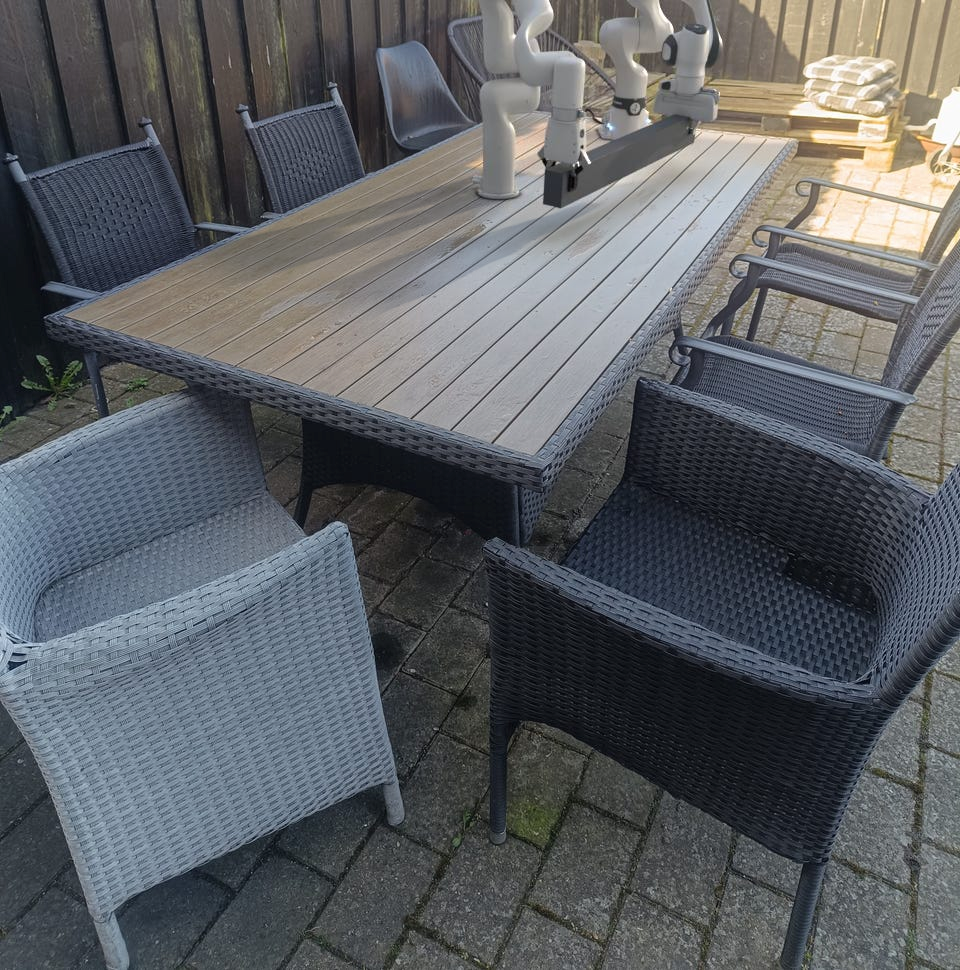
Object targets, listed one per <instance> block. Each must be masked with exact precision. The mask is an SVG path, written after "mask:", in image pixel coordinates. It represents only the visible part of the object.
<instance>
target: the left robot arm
mask: <svg viewBox="0 0 960 970" xmlns="http://www.w3.org/2000/svg"><path fill="white" fill-rule="evenodd" d="M511 2H512V6H513V8H514V10H515V13H516V16H517V19H518V21H519V24H520V26H519V28H518V29H517V30H516V31H517V32H516V34H515V28H514V27H515V25H514V23H515V22H514V21H515V19H514V14H513V11H512V10H511V8H510V6H509V4H508V3H507V2H506V0H477V3H478V5H479V9H480V13H481V17H482V19H481V20H482V46H483V47H482V49H483V61H484V62H483V63H484V64H483V65H484V67H485V70H486V71H487V72H488V73H490V74H493V75H495V74H496V75H498V74H500V75H502V74H518V73H519V76H520V77H512V78H511V77H509V78H508V77H507V78H496V79H491V80H488V81H486V82H485V83H484V84H483V85H482V86H481V87H480V90H479V105H480V111H481V118H482V176H481V175H477V174H474V175H473V176H472V184H476V185H479V187H478V188H477V195H479V196H480V197H483V198H485V199H489V200H507V199H512V198H515V197H518V196H519V194H520V188H519V187H518V186H515V176H516V175H515V174H516V173H515V172H516V171H515V170H516V168H515V167H516V130H515V128H514V125H513V124H512V123H511V121H510V120H509V118H508V117H509V116H513V115H514V116H517V115H524V114H532V113H534V112H535V111H537V109H538V108H539V106H540V102H541V101H540V100H541V87H548V86H549V87H550V86H552V97H551V112H550V113H551V114H550V117H549V118H548V121H547V125H546V130H545V136H544V144H543V146H542V147H541V148H540V149H539V150H538V152H537V154H536V155H537V157H538V158H539V159H540V161H541V163H542V164H543V166H544V167H545V168H544V170H545V169H547V168H550V167H552V166H554V165H557V164H558V163H566V164H569V167H570V172H571V176H569V183H568V192H572V191H574V190H576V188H577V184H578V174H580V173H581V172H582V171H583V170H584V169H585V168H586V167H588V166H589V165H590V164H591V162H590V160H589V158H588V157H587V155H586V152H587V131H586V130H587V129H586V122H585V120H584V119H585V118H586V117H587V112H585V110H584V107H583V106H584V93H585V92H584V91H585V80H586V62H585V60H583V58H580V57H577V56H576V55H575V53H573V52H571V51H569V50H558V51H557V50H551V51H541V49H540V46H539V42H538V40H537V39H536V37H537V36H540V35H541V34H543V33H544V32H545V31H547V30H548V29H549V28H550V27H551V24H552V23H553V21H554V15H555V14H554V10H553V8H552V5H551V2H550V0H511ZM583 118H584V119H583ZM578 161H582V164H581V165H580V166H579V162H578Z"/></svg>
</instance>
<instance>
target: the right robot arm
mask: <svg viewBox="0 0 960 970" xmlns="http://www.w3.org/2000/svg"><path fill="white" fill-rule="evenodd" d="M681 1H682V2H683V3H685V4H687V5H688V6H689V7H690V8H691V10H692V11H693V14H694V19H695V22H696V23H687V24H686V25H684V26H683V27H682V29H681V30H680V31H677V32H674V27H673V24H672V23H671V21H670V20H669V19H668V18H667V17H666V16H665V14H664V13H663V11H662V9H661V6H660V0H626V2H627V3H628V4H629V5H630V6H632V7H633V8H635V9H637V10H638V11H639V16H638V17H615V18H611V19H608V20H605V21H604V22H603V23H602V25H601V26H600V29H599V33H598V42H599V45H600V47H601V49H602V50H603V51H604V52H605V53H606V54H607V55H608V56H609V58H610V60H611V61H612V64H613V66H614V70H615V71H614V72H615V90H614V94H613V98H612V101H611V107H610V108H609V109H608V110H607V111H606V113H605V114H604V116H602V117H601V120H599V119H597V118H596V115H595V113H594V112H593V110H591V108H586V109H584V112H586V113H590V115H591V116H592V117H591V119H592V120H593V121H594V122H595V123H598V124H600V125H599V126H597V132H598V134H599V135H600V137H601V138H602V139H603V140H611V141H613V140H616V139H618V138H620V137H623V136H625V135H627V134H630V133H632V132H634V131H637V130H639V129H641V128H644V127H646V126H649V123H651V120H650V119H649V111H647V110H646V107H647V102H648V100H647V99H648V96H647V87H648V78H649V74H648V71H647V69H646V68H645V67H644V66H642V65H641V64H640V63H637V62H636V61H634V54H656V53H660V52H661V60H662V62H663V63H664V64H665V66H667V67H668V68H672V69H676V71H675V73H674V76H673V77H670V78H667V79H663V80H662V81H659V83H658V89H659V90H657V91H656V93H655V97H654V101H653V105H652V108H653V109H652V111H653V113H654V114H656V115H662V116H666V118H667V117H670V116H672V115H679V116H685V117H690V119H692V120H694V124H695V125H694V127H693V128H690V132H689V134H690V135H695V136H696V132H697V129H698V127H699V126H700V124H701V123H702V122H705V123H712V122H714V121H716V119H717V118H718V111H719V109H718V108H719V102H720V97H721V95H720V92H719V91H718V90H717V89H716V88H710V87H706V86H705V87H704V84H705V77H706V70H705V69H711V68H713V66H715V65H716V64H717V63H718V61H720V59H721V58H722V56H723V49H724V46H723V40H722V38H721V35H720V33H719V30H718V28H717V23H716V20H715V17H714V16H715V15H714V13H713V12H714V11H713V7H712V4H711V1H710V0H681Z"/></svg>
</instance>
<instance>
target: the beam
mask: <svg viewBox="0 0 960 970" xmlns="http://www.w3.org/2000/svg"><path fill="white" fill-rule="evenodd" d="M694 125H695V124H694V120H692V119H690V117H685V116H679V115H672V116H670V117H667V116H666V117H665V118H663V119H660V120H657V121H656V122H653V123H651V124H648V126H646V127H644V128H641V129H639V130H637V131H634V132H632V133H630V134H627V135H625V136H623V137H620V138H618V139H616V140H611V141H609V142H606V143H604V144H602V145H599V146H597V147H595V148H592V149H589V150H586V155H587V157H588V158H589V160H590V162H591V164H590V165H589V166H588V167H586V168H585V169H584V170H583V171H582V172H581V173H580V174H578V184H577V188H576V190H574V191H572V192H568V183H569V176H571V172H570V167H569V164H566V163H561V162H558V163H556V165H554V166H552V167H550V168H547V169H545V168H544V179H543V192H542V193H543V195H542V205H545V206H549V207H553V208H556V209H563V208H565V207H566V206H567V207H568V206H569V205H571V204H573V203H575V202H578V201H579V200H581V199H583V198H585V197H587V196H589V195H591V194H593V193H596V192H597V191H599V190H601V189H603V188H605V187H607V186H610V185H612V184H614V183H616V182H618V181H620V180H621V179H624V178H625V177H628V176H630V175H631V174H634V173H636V172H638V171H641V170H642V169H645V168H646V167H648V166H650V165H652V164H654V163H656V162H658V161H660V160H662V159H664V158H666V157H668V156H670V155H672V154H674V153H676V152H679V151H681V150H683V149H685V148H686V147H688V146H690V145H693V144H694V143H695V141H696V134H695V135H690V134H689V132H690V128H693V127H694ZM578 162H579V166H580V165H581V164H582V161H578Z"/></svg>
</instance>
